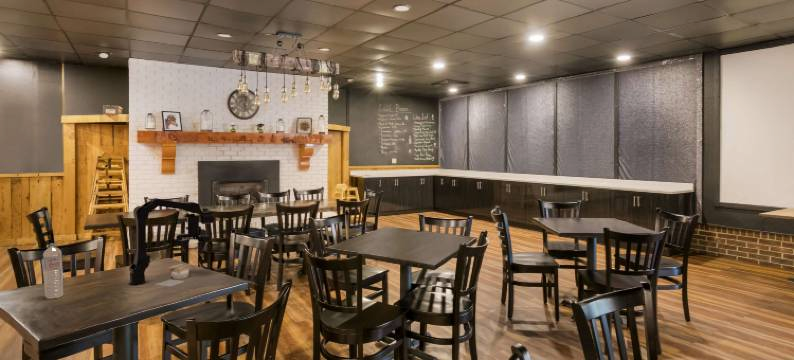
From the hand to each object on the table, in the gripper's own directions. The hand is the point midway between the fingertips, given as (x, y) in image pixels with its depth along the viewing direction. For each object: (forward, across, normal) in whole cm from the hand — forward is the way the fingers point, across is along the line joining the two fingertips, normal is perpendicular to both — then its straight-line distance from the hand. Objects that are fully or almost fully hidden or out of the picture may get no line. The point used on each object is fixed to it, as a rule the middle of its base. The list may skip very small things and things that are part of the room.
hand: (193, 253), depth 248 cm
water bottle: (+12, +33, +52) cm, 63 cm away
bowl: (+12, +2, +8) cm, 15 cm away
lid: (+7, +2, +8) cm, 11 cm away
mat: (+12, -1, +18) cm, 22 cm away
